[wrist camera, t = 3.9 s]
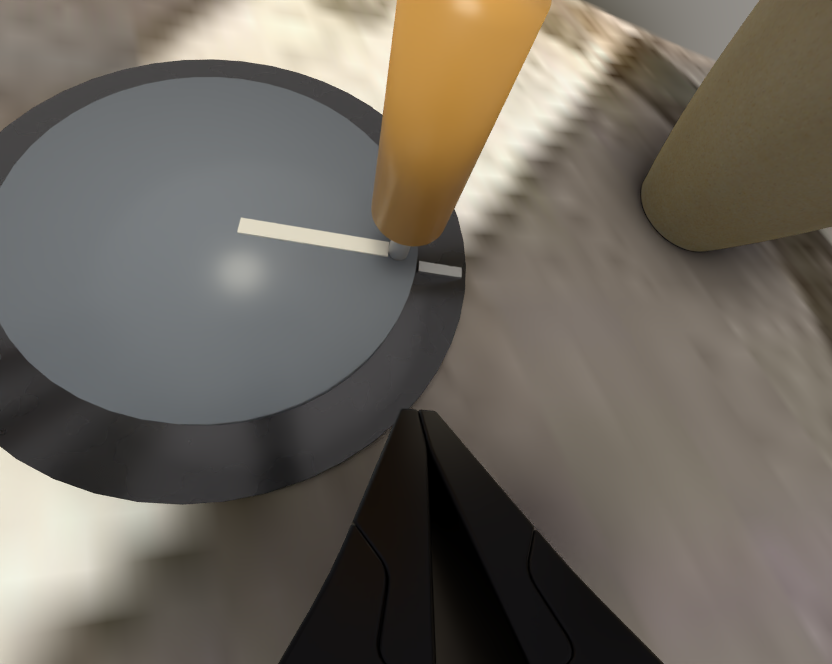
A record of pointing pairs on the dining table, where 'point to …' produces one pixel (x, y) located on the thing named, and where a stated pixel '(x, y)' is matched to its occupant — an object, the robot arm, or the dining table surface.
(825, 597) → the dining table surface
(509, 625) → the robot arm
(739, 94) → the plant pot
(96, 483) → the dial plate
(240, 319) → the dial
